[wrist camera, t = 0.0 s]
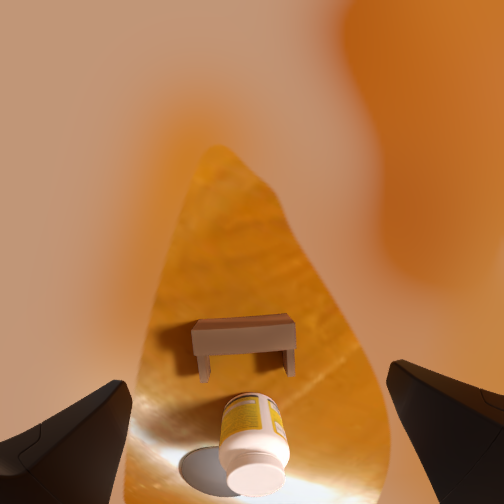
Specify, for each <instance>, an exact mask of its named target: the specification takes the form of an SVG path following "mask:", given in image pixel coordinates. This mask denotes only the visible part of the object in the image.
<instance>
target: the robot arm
mask: <svg viewBox="0 0 504 504" xmlns="http://www.w3.org/2000/svg"><path fill="white" fill-rule="evenodd" d="M386 384H387V388H388V390H389V393H390V395H391V398H392V400H393V403H394V405H395V408H396V411H397V414H398V416H399V418H400V420H401V423H402V425H403V427H404V429H405V430H406V432H407V434H408V436H409V438H410V440H411V442H412V444H413V446H414V449H415V451H416V453H417V455H418V457H419V459H420V461H421V463H422V465H423V467H424V469H425V472H426V474H427V476H428V478H429V480H430V482H431V485H432V487H433V489H434V491H435V494H436V496H437V498H438V500H439V502H440V504H504V395H499V394H496V393H493V392H490V391H487V390H483V389H479V388H477V387H475V386H472V385H469V384H466V383H463V382H460V381H458V380H455V379H452V378H449V377H447V376H444V375H441V374H439V373H436V372H434V371H431V370H428V369H426V368H423V367H421V366H418V365H415V364H413V363H410V362H408V361H405V360H403V359H401V360H397V361H393V362H392V363H391V364H390V368H389V372H388V376H387V380H386ZM131 409H132V398H131V395H130V392H129V390H128V387H127V384H126V383H125V382H124V381H122V380H112V381H111V382H109V383H107V384H106V385H104V386H102V387H101V388H99V389H98V390H96V391H94V392H93V393H91V394H89V395H88V396H86V397H84V398H83V399H81V400H79V401H78V402H76V403H74V404H73V405H71V406H69V407H68V408H66V409H64V410H62V411H61V412H59V413H57V414H56V415H54V416H52V417H50V418H49V419H47V420H45V421H43V422H42V424H41V423H40V424H38V425H36V426H34V427H33V428H31V429H29V430H27V431H25V432H23V433H21V434H19V435H17V436H14V437H12V438H10V439H7V440H5V441H2V442H0V504H109V500H110V496H111V492H112V488H113V484H114V480H115V477H116V473H117V469H118V465H119V462H120V458H121V455H122V452H123V448H124V445H125V441H126V436H127V431H128V425H129V420H130V414H131Z"/></svg>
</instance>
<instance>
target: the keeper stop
mask: <svg viewBox="0 0 504 504" xmlns="http://www.w3.org/2000/svg"><path fill="white" fill-rule="evenodd" d="M191 335H192V344H193V352H194V356H197V362H198V369H199V376H200V383H208V380H209V376H210V373H211V370H210V361H209V355H229V354H245V353H258V352H270V351H280V350H283V366H284V369H285V371H286V374H287V376H288V377H292V376H295V359H294V349H296V331H295V322H294V321H293V320H292V319H291V318H290V317H289V316H288V315H287V313H285V314H274V315H263V316H250V317H236V318H220V319H199V320H198V322H197V323H196V324H195V326H194V327H193V328H192V330H191Z"/></svg>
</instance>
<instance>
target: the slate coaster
mask: <svg viewBox="0 0 504 504" xmlns="http://www.w3.org/2000/svg"><path fill="white" fill-rule="evenodd" d="M182 474H183V477H184V478H185V480H186V481H187V482H188V483H189V484H190V485H191V486H192V487H194V488H195V489H197V490H199V491H201V492H203V493H206V494H209V495H213V496H219V497H234V496H240V494H237V493H235V492H234V491H232V490H231V489H230V488H229V487H228V485H227V482H226V471H225V470H224V468H223V467H222V466H221V464H220V461H219V447H206V448H202V449H198V450H196V451H194V452H192V453H190V454H189V455H188V456H187V457H186V458H185V459H184V461H183V464H182Z"/></svg>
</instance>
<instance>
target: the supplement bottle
mask: <svg viewBox="0 0 504 504" xmlns="http://www.w3.org/2000/svg"><path fill="white" fill-rule="evenodd" d="M289 456H290V452H289V446H288V443H287V439H286V435H285V432H284V428H283V424H282V420H281V416H280V413H279V409H278V407H277V405H276V404H275V402H274V401H273V400H272V399H270V398H269V397H267V396H265V395H263V394H259V393H244V394H240V395H238V396H236V397H234V398H232V399H231V400H230V401H229V402H228V403H227V404H226V406H225V408H224V411H223V416H222V425H221V435H220V444H219V461H220V464H221V466H222V467H223V468H224V470H225V471H226V482H227V485H228V487H229V488H230V489H231V490H232V491H234V492H235V493H237V494H240V495H243V496H248V497H260V496H266V495H269V494H272V493H274V492H276V491H278V490H279V489H280V488H281V487H282V486H283V485H284V483H285V479H286V478H285V471H284V467H285V466H286V465H287V463H288V460H289Z"/></svg>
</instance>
